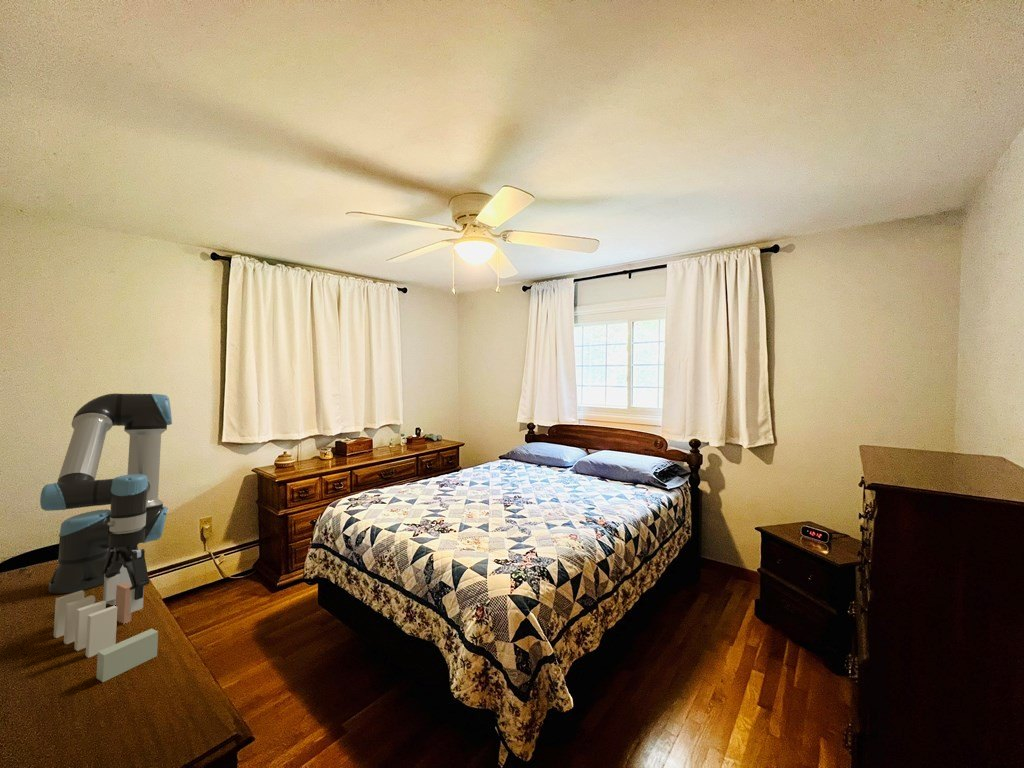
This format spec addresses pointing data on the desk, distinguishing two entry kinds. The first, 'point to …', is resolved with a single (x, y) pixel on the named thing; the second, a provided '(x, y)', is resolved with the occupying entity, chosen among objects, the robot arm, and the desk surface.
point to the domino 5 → (123, 602)
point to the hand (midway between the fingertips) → (123, 604)
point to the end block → (126, 654)
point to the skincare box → (123, 579)
